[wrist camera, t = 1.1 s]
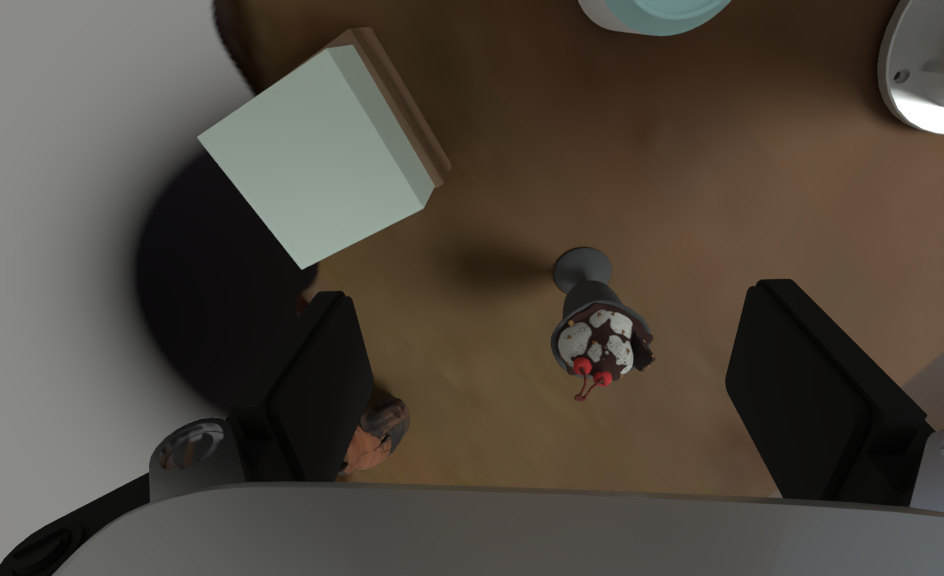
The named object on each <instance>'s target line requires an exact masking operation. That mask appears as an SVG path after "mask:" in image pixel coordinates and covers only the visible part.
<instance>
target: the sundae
mask: <svg viewBox="0 0 944 576" xmlns="http://www.w3.org/2000/svg"><path fill="white" fill-rule="evenodd" d="M611 271H612V270H611V264H610V262H609V260H608V258H607V257H606V256H605V255H604V254H603V253H601V252H600V251H598V250H595V249H592V248H577V249H574V250H571V251H569V252H567V253H566V254H564V255H563V256H562V257H561V258H560V259H559V261H558V262H557V264H556V266H555V269H554V279H555V282H556V284H557V286H558V287H559V289H561V290H562V291H563V292H565V293H566V294H567V296H566V298H565V302H564V307H563V320H562V321H561V322H560V323H559V324H558V326H557V327H556V329H555V330H554V332H553V334H552V336H551V348H552V352H553V355H554V357H555V358H556V360H557V362H558V363H559V364H560V366H561V367H562V368H563V369H565V370H566V371H567V372H568V374H570V375H574V376H578V377H583V378H584V386H583V388H582V390H581V392H580V394H577V395H576V396H575V400H578V401H582V402H584V401H585V400H586V396H587V395H588V394H589V392H590V391H591V389H592V388H594V387H595V386H596V385H599V386H608V384H609V383H610V382H613V381H616V380H618V379H620V378H623V376H624V375H625V374H627V373H628V372H630V371H631V370H633V369H634V368H636V369H638V370H639V371H641V372H644V371H645V370H646V369H647V368H648V367H649V366H650V365H651V363H652V362H653V361H654V360H655V356H654V354H653V353H652V352H651V350H650V349H649V345H650V343H651V341H652V340H653V336H652V335H651V333H650V328H649V326H648V324H647V323H646V321H645V320H644V318H642V317H641V316H640V315H639V314H638V313H636V312H635V311H633V310H632V309H630V308H629V307H626V306H624V305H623V304H622V302H621V301H620V299H619V297H618V296H617V295H616V293H615V292H614V291H613V290H612V289H611V288H610V287H609V286H607V283H608V282H609V280H610V277H611ZM587 378H593V380H594V382H595V384H594V385H593V386H591V388H590V389H589V390H588V392H587V393H586V395H585V396H583V397H582V396H581V395H582V393H583V391H584V389H585V386H586V383H587Z"/></svg>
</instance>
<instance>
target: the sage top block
mask: <svg viewBox="0 0 944 576" xmlns="http://www.w3.org/2000/svg"><path fill="white" fill-rule="evenodd" d="M197 138H198V139H199V141H200V142H201V143H202V145H203V146H204V147H205V148H206V150H207V151H208V152H209V153H210V155H211V156H212V157H213V158H214V160H215V161H216V162H217V163H218V165H219V166H220V167H221V169H222V170H223V171H224V172H225V174H226V175H227V176H228V177H229V179H230V180H231V181H232V182H233V184H234V185H235V186H236V187H237V188H238V190H239V191H240V193H241V194H242V195H243V196H244V198H245V199H246V200H247V201H248V203H249V204H250V205H251V206H252V208H253V209H254V210H255V211H256V213H257V214H258V215H259V216H260V218H261V219H262V220H263V221H264V223H265V224H266V225H267V227H268V228H269V229H270V230H271V232H272V233H273V234H274V235H275V237H276V238H277V239H278V240H279V242H280V243H281V244H282V245H283V247H284V248H285V249H286V251H287V252H288V253H289V254H290V256H291V257H292V258H293V259H294V261H295V262H296V263H297V264H298V266H299V267H300V268H301V269H304V268H306V267H308V266H310V265H312V264H314V263H316V262H318V261H320V260H322V259H324V258H326V257H328V256H330V255H332V254H334V253H336V252H338V251H340V250H342V249H344V248H346V247H348V246H350V245H352V244H354V243H356V242H358V241H360V240H362V239H364V238H366V237H368V236H370V235H372V234H374V233H376V232H378V231H380V230H382V229H384V228H386V227H388V226H390V225H392V224H394V223H396V222H398V221H400V220H402V219H404V218H406V217H408V216H410V215H412V214H414V213H416V212H418V211H420V210H422V209H424V207H425V205H426V203H427V201H428V199H429V197H430V195H431V193H432V191H433V189H434V187H435V185H434V183H433V182H432V180H431V178H430V177H429V175H428V173H427V171H426V170H425V168H424V166H423V164H422V163H421V161H420V159H419V158H418V156H417V154H416V152H415V151H414V149H413V147H412V146H411V144H410V142H409V140H408V139H407V137H406V135H405V133H404V132H403V130H402V128H401V127H400V125H399V123H398V121H397V120H396V118H395V116H394V115H393V113H392V111H391V109H390V108H389V106H388V104H387V102H386V101H385V99H384V97H383V96H382V94H381V92H380V90H379V89H378V87H377V85H376V84H375V82H374V80H373V78H372V77H371V75H370V73H369V71H368V70H367V68H366V66H365V65H364V63H363V61H362V59H361V58H360V56H359V54H358V53H357V51H356V49H355V47H354V46H353V45H346V46H339V47H333V48H326V49H325V50H323V51H322V52H321V53H319V54H318V55H316V56H315V57H313V58H312V59H310V60H309V61H307V62H306V63H304V64H303V65H302V66H300V67H299V68H297V69H296V70H294V71H293V72H291V73H290V74H288V75H287V76H285V77H284V78H282V79H281V80H280V81H278V82H277V83H275V84H274V85H272V86H271V87H269V88H268V89H266V90H265V91H263V92H262V93H261V94H259V95H258V96H256V97H255V98H253V99H252V100H250V101H249V102H247V103H246V104H244V105H243V106H242V107H240V108H239V109H238V110H236V111H234V112H233V113H231V114H230V115H228V116H227V117H225V118H224V119H222V120H221V121H220V122H218V123H217V124H215V125H214V126H212V127H211V128H209V129H208V130H206V131H205V132H203V133H202V134H201V135H199V136H198V137H197Z"/></svg>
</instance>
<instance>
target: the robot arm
mask: <svg viewBox="0 0 944 576" xmlns="http://www.w3.org/2000/svg"><path fill="white" fill-rule="evenodd" d="M877 73H878V86H879V89H880V92H881V95H882V98H883V101H884V103H885V104H886V106H887V107H888V108H889V110H890V111H891V113H892V114H893V115H894V116H895V117H897V118H898V119H899V120H900V121H902V122H903V123H904V124H907V125H909V126H911V127H914V128H916V129H918V130H922V131H926V132H930V133H934V134H940V135H944V0H901V1H900V2H899V4H898V5H897V7H896V9H895V11H894V13H893V15H892V17H891V19H890V21H889V23H888V25H887V28H886V31H885V34H884V37H883V40H882V43H881V46H880V51H879V58H878V65H877ZM725 383H726V389H727V392H728V394H729V396H730V398H731V400H732V402H733V404H734V406H735V408H736V410H737V412H738V413H739V415H740V417H741V419H742V421H743V423H744V425H745V427H746V429H747V430H748V432H749V434H750V436H751V438H752V440H753V442H754V444H755V446H756V448H757V449H758V451H759V453H760V455H761V457H762V459H763V461H764V463H765V465H766V466H767V468H768V470H769V472H770V474H771V476H772V478H773V480H774V482H775V484H776V485H777V487H778V489H779V491H780V493H781V494H782V497H783V498H768V497H747V496H723V495H699V494H675V493H651V492H627V491H600V490H573V489H546V488H517V487H489V486H459V485H426V484H393V483H360V482H334V481H335V479H336V476H337V474H338V472H339V469H340V467H341V464H342V462H343V460H344V457H345V455H346V453H347V450H348V448H349V445H350V443H351V441H352V438H353V436H354V433H355V431H356V429H357V426H358V424H359V421H360V419H361V417H362V414H363V412H364V410H365V407H366V405H367V402H368V400H369V398H370V395H371V393H372V390H373V385H374V379H373V374H372V370H371V367H370V363H369V359H368V355H367V352H366V348H365V344H364V341H363V337H362V333H361V330H360V326H359V322H358V319H357V315H356V311H355V308H354V304H353V301H352V299H351V297H349V296H346V295H345V294H344V292H342V291H321V292H318V293H317V294H316V295H315V297H314V298H313V299H312V301H311V302H310V303H309V305H308V306H307V307H306V308H305V310H304V311H303V312H302V314H301V315H300V316H299V318H298V319H297V320H296V322H295V323H294V324H293V325H292V327H291V328H290V330H289V331H288V332H287V333H286V335H285V336H284V337H283V338H282V340H281V341H280V343H279V344H278V345H277V346H276V348H275V349H274V350H273V352H272V353H271V354H270V355H269V357H268V358H267V360H266V361H265V362H264V363H263V365H262V366H261V367H260V368H259V370H258V371H257V372H256V374H255V375H254V377H253V378H252V379H251V380H250V382H249V383H248V384H247V385H246V387H245V388H244V390H243V391H242V392H241V393H240V395H239V396H238V397H237V399H236V400H235V401H234V403H233V404H232V405H231V406H230V407H231V409H232V411H231V413H230V414H229V415H228V417H227V418H226V419H225V420H224V419H222V418H216V417H210V418H203V419H199V420H196V421H193V422H191V423H188V424H186V425H184V426H182V427H180V428H178V429H176V430H175V431H174V432H172V433H171V434H170V435H168V436H167V437H166V438H165V439H164V440H163V441H162V442H161V443H160V444H159V445H158V446H157V447H156V449H155V450H154V452H153V454H152V455H151V458H150V463H149V473H146V474H144V475H143V476H141V477H139V478H137V479H135V480H133V481H131V482H129V483H127V484H125V485H123V486H121V487H119V488H117V489H115V490H114V491H112V492H110V493H108V494H106V495H104V496H102V497H100V498H98V499H96V500H94V501H92V502H90V503H88V504H86V505H84V506H83V507H81V508H79V509H77V510H75V511H73V512H71V513H69V514H67V515H65V516H63V517H61V518H59V519H57V520H55V521H54V522H52V523H50V524H48V525H46V526H44V527H43V528H41V529H39V530H38V531H36V532H34V533H33V534H31V535H30V536H29V537H27V538H26V539H25V540H24V541H22V542H21V543H20V544H19V545H17V546H16V547H15V548H14V549H13V550H12V551H11V552H10V553H9V554H8V555H7V556H6V557H5V558H4V560H3V561H2V563H1V564H0V576H944V429H942V430H939V431H937V432H936V431H935V430H934V429H933V428H932V427H931V426H930V425H929V424H928V423H927V422H926V421H925V418H926V417H927V414H926V413H925V412H924V411H923V410H922V409H921V408H920V407H919V406H918V405H917V404H916V403H915V402H914V401H913V400H912V399H911V398H910V397H909V396H908V395H907V394H906V393H905V392H904V391H903V390H902V389H901V388H900V387H899V386H898V385H897V384H896V383H895V382H894V381H893V380H892V379H891V378H890V377H889V376H888V375H887V374H886V373H885V372H884V371H883V370H882V369H881V368H880V367H879V366H878V365H877V364H876V363H875V362H874V361H873V360H872V359H871V358H870V357H869V356H868V355H867V354H866V353H865V352H864V351H863V350H862V349H861V348H860V347H859V346H858V345H857V344H856V343H855V342H854V341H853V340H852V339H851V338H850V337H849V336H848V335H847V334H846V333H845V332H844V331H843V330H842V329H841V328H840V327H839V326H838V325H837V324H836V323H835V322H834V321H833V320H832V319H831V318H830V317H829V316H828V315H827V314H826V313H825V312H824V311H823V310H822V309H821V308H820V307H819V306H818V305H817V304H816V303H815V302H814V301H813V300H812V299H811V298H810V297H809V296H808V295H807V294H806V293H805V292H804V291H803V290H802V289H801V288H800V287H799V286H798V285H797V284H796V283H795V282H794V281H793V280H791V279H765V280H760V281H758V282H757V284H756V286H751V287H749V289H748V291H747V294H746V298H745V302H744V306H743V310H742V314H741V318H740V322H739V326H738V330H737V334H736V338H735V342H734V346H733V350H732V354H731V358H730V362H729V366H728V370H727V374H726V379H725Z"/></svg>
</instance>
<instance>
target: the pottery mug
mask: <svg viewBox="0 0 944 576" xmlns="http://www.w3.org/2000/svg"><path fill="white" fill-rule="evenodd" d="M409 421H410V417H409V413H408V409H407V406H406V405H405V403H404V402H403V401H402V400H401V399H398V398H395V397H394V396H392V395H390V394H385V395H384V396H382V397H381V399H380V400H379V401H378V402H376V403H373V404H372V405H371V406H370V407H367V408H366V409H365V410H364V412H363V414H362V417H361V419H360V421H359V422H360V425H361V426H357V429H356V431H355V433H354V436H353V438H352V441H351V443H350V445H349V448H348V450H347V454H348V463H347V462H342V464H341V467H340V469H339V472H338V474H337V475H340V476H345V475H347V474H349V473H350V472H351V471H353V470H355V469H362V470H364V469H370V468H373V467H374V466H376V465H378V464H380V463H381V462H382V461H383V460H385V459H386V458H387V457H388V456H389V455H390V454H391V453H392V452H393V451H394V449H395V448H396V447H397V445H398V444H399V443H400V441H401V439H402V437H403V435H404V434H405V433H406V431H407V429H408V427H409ZM385 433H387V435H386V436H385V438H384V439H383V440H382V441H381V437H382V436H383V435H384V434H385Z"/></svg>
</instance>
